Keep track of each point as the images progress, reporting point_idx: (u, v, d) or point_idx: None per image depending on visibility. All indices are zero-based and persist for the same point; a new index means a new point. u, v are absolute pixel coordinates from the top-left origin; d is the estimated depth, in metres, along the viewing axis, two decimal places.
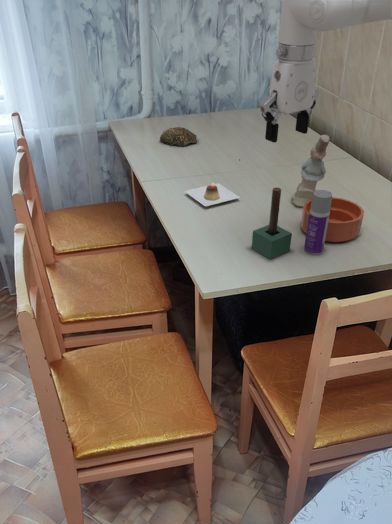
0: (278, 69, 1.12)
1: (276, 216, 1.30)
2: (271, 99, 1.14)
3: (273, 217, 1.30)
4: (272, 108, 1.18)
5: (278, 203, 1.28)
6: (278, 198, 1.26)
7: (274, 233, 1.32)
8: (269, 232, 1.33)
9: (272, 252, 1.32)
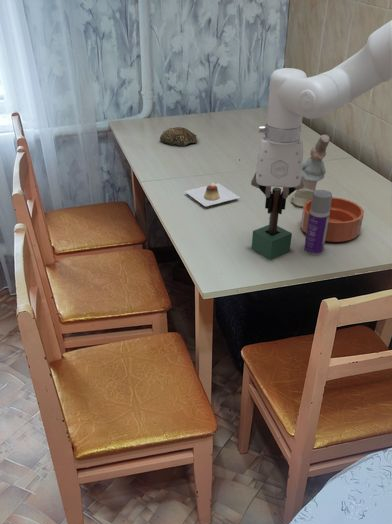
0: None
1: (276, 216, 1.30)
2: (255, 175, 1.24)
3: (273, 217, 1.30)
4: None
5: (278, 203, 1.28)
6: (278, 198, 1.26)
7: (274, 233, 1.32)
8: (269, 232, 1.33)
9: (272, 252, 1.32)
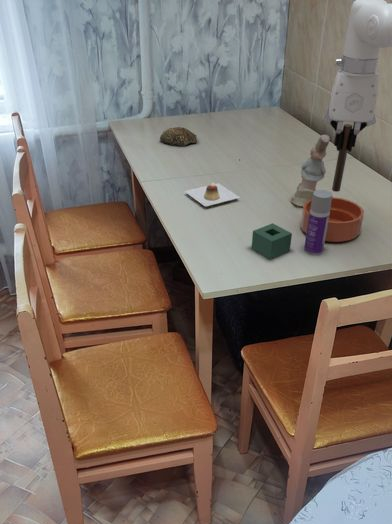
0: (335, 77, 1.21)
1: (345, 154, 1.31)
2: (328, 111, 1.25)
3: (342, 155, 1.31)
4: None
5: (348, 140, 1.29)
6: (349, 134, 1.28)
7: (341, 172, 1.34)
8: (336, 171, 1.34)
9: (272, 252, 1.32)
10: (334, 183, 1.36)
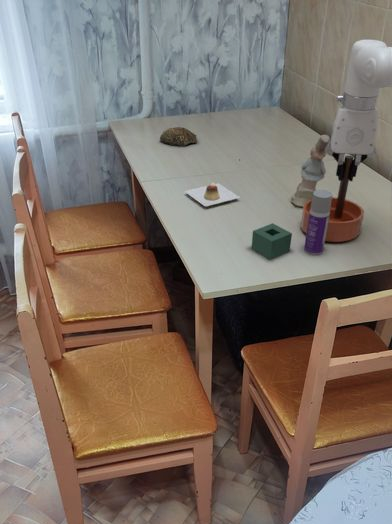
0: (337, 112, 1.27)
1: (346, 183, 1.37)
2: (330, 143, 1.31)
3: (344, 184, 1.37)
4: None
5: (349, 170, 1.35)
6: (350, 165, 1.34)
7: (343, 200, 1.40)
8: (338, 199, 1.40)
9: (272, 252, 1.32)
10: (336, 210, 1.42)
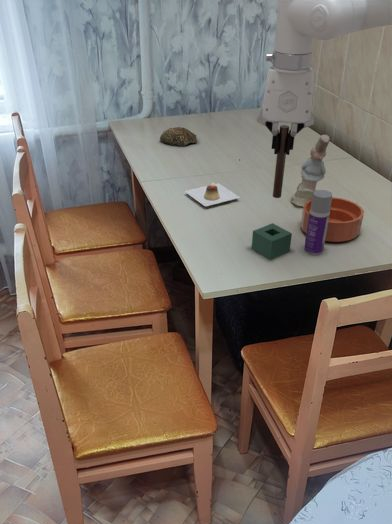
0: None
1: (283, 157, 1.21)
2: (262, 110, 1.15)
3: (280, 158, 1.21)
4: None
5: (286, 142, 1.19)
6: (286, 136, 1.18)
7: (281, 177, 1.24)
8: (276, 176, 1.24)
9: (272, 252, 1.32)
10: (274, 189, 1.26)
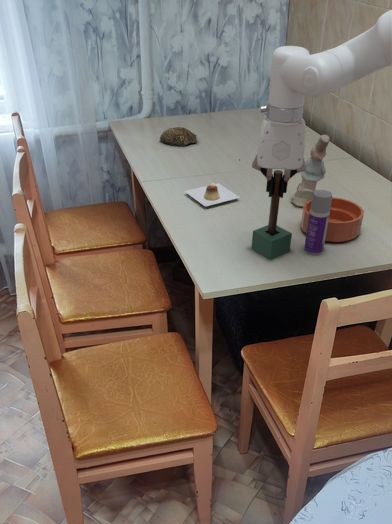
0: None
1: (277, 200, 1.27)
2: (256, 157, 1.21)
3: (274, 201, 1.27)
4: None
5: (279, 186, 1.25)
6: (279, 180, 1.24)
7: (275, 217, 1.30)
8: (270, 216, 1.30)
9: (272, 252, 1.32)
10: (269, 228, 1.32)
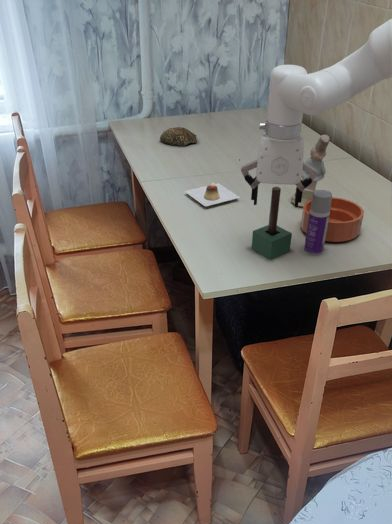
0: None
1: (276, 215, 1.30)
2: (250, 165, 1.23)
3: (273, 216, 1.30)
4: None
5: (278, 202, 1.28)
6: (277, 197, 1.27)
7: (274, 232, 1.33)
8: (269, 231, 1.33)
9: (272, 252, 1.32)
10: None
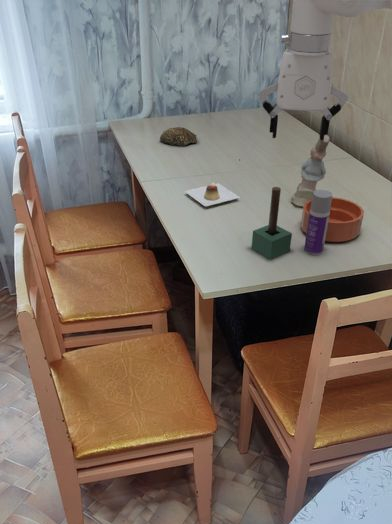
0: None
1: (276, 215, 1.30)
2: (269, 88, 1.06)
3: (273, 216, 1.30)
4: None
5: (278, 202, 1.28)
6: (277, 197, 1.27)
7: (274, 232, 1.33)
8: (269, 231, 1.33)
9: (272, 252, 1.32)
10: None
